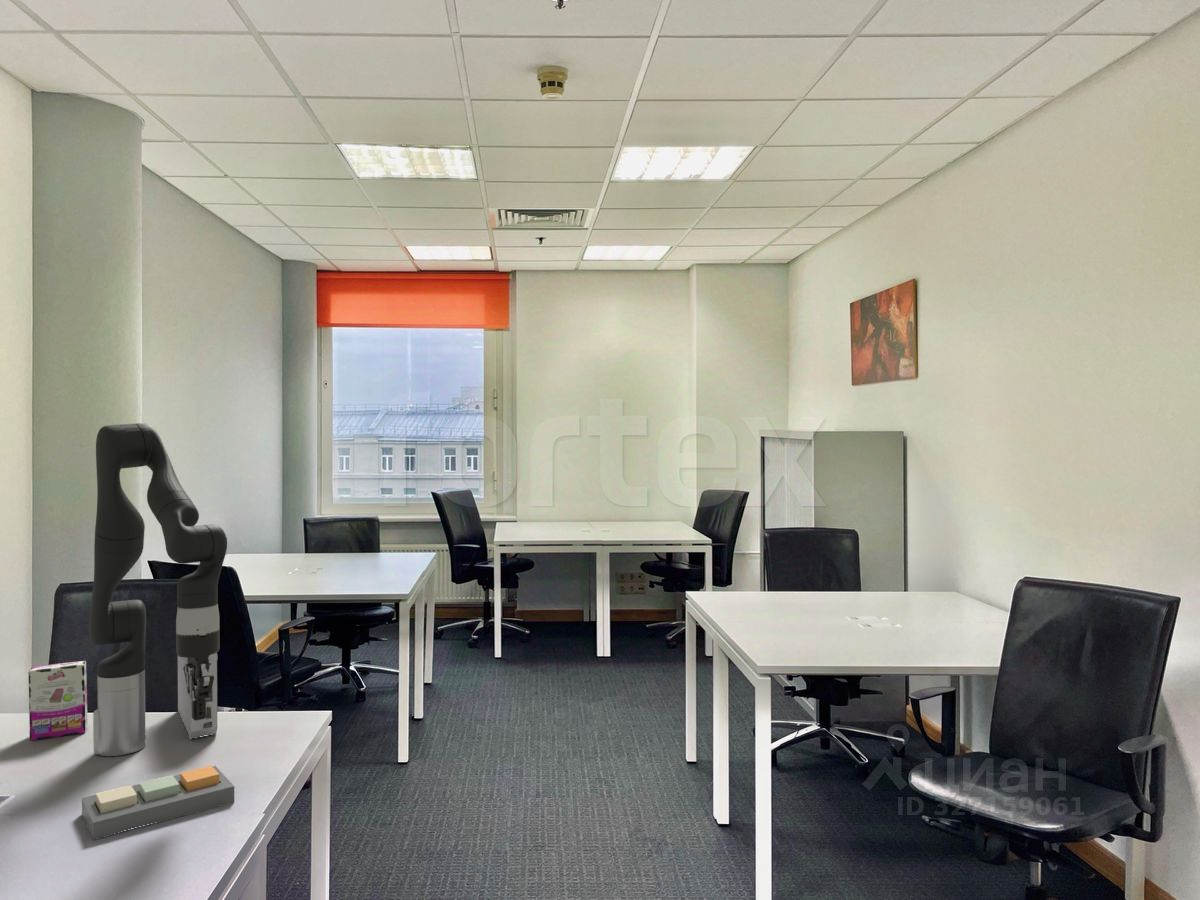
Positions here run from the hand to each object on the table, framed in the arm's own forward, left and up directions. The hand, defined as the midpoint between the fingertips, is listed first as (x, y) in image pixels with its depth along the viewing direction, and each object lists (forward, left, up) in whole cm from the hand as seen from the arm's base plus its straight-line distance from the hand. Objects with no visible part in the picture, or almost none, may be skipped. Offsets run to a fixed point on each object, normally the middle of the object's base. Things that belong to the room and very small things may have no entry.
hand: (198, 718), depth 156 cm
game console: (-18, +44, -16) cm, 50 cm away
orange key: (0, 0, -13) cm, 13 cm away
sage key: (-6, -4, -13) cm, 14 cm away
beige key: (-11, -8, -13) cm, 19 cm away
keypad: (-6, -4, -15) cm, 17 cm away
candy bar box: (-48, +40, -16) cm, 64 cm away
